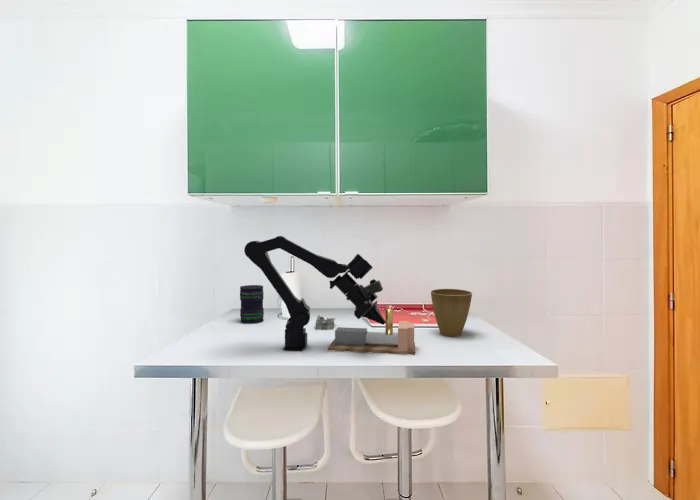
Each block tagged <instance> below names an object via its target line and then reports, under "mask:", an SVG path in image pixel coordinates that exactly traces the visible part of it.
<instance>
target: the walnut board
mask: <svg viewBox="0 0 700 500" xmlns="http://www.w3.org/2000/svg"><path fill="white" fill-rule="evenodd" d="M415 348H416V342H415V341H414V350H408V351H398V344H376V343H367V344H366V346H365V347H364V346H342V345H335V338H334V339H333V340H332V341H331V343H330V344H329V345H328V346H327V351H328V350H335V351H334V352H344V351H350V352H349V353H365V352H372V353H371V354H386V353H388V354H390V355H392V354H393V355H407V354H413V355H412V356H415V354H416V352H415V351H416V349H415Z"/></svg>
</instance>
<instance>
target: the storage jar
mask: <svg viewBox="0 0 700 500" xmlns="http://www.w3.org/2000/svg"><path fill="white" fill-rule="evenodd" d="M239 289H240V290H239V300H240V310H239V312H240V313H239V317H240V323H241V324H245V325H255V324H260V323H264V318H265V317H264V316H265V312H264V310H265V309H264V285H261V284H259V285H258V284H251V285H250V284H249V285H248V284H247V285H242V286H241V285H240V286H239Z"/></svg>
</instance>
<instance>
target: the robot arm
mask: <svg viewBox="0 0 700 500" xmlns="http://www.w3.org/2000/svg"><path fill="white" fill-rule="evenodd" d="M278 249H280V250H282V251H284V252H286V253H288V254H290V255H291V256H293V257H295V258H297V259H298V260H299V259H300V260H301V261H303V262H305V263H307V264H309V265H310V266H312V267H313V269H316V270H317V271H318V272H319V273H320V274H322V275H323V276H324V277H326V278H328V279H333V278H335V279H333V280H329V289H330V290H332V289H333V288H335V287H336V288H337V289H338V290H339V291H340V292H341V293H342V294H343V295H344V296H345V297H346V300H347V301H348V302H349V301H350V302H351V303H352V305H354V306H355V307H354V308H355V310H354V311H353V312H354V317H355V318H356V319H358V320H360V319H361V318H366V319H367V320H371V321H373V322H376V323H378V324H380V325H382V326H383V325H385V319H384V317H383V315H382V313H381V312H380V310H379V309H378V300H376V299H377V298H378V297H379V296H378V295H377V294H376V293H380V292H382V291H383V289H384V287H383V286H382V283H381V281H380V280H376V279H375V278H374V279H371V280H369V284H368V285H366V286H363V284H359V283H358V282H357V280H359V279H360V280H362V279H363V278H364V277H366V275H367V274H368V273H369V272H370V271H371V270H372V269H374V267H373V266H372V265H371V264H370V263H369V262H368V261H367V259H364V258H363V256H361V254H359V253H357V254H356V255H355V256H354V257H353V258H352V260H351V261H349V262H348V264H345V263H338V262H337V261H336V260H334V259H332V258H330V257H329V258H328V257H326V256H322V255H319V254H316V253H314V252H312V251H310V250H308V249H306V248H305V247H303V246H301V245H299V244H297V243H295V242H293V241H292V240H290V239H288V238H286V237H285V236H284V235H278V236H276V237H274V238H270V239H267V240H263V241H260V240H251V241H249V242H248V243H246V244H245V246H244V254H245V256H246V257H247V258H248V259H249V260H250V261H251V262H252V263H253V264H254V265H255V266H257V267H258V268H259V269H260V270H261V271H262V273H263V274H264V276H265V277H266V279H267V280H268V282H269V283H270V285H271V286H272V288H274V290H275V291H276V293H277V295H278V296H279V297H280V299H281V300H282V301H283V303H284V304H285V306H286V309H287V312H288V314H289V317H290V318H288V319H287V321H286V324H285V329H284V347H283V348H282V350H284V351H288V350H289V351H304V349H306V347H307V346H308V332H307V329H306V327H305V326H307V325H308V324H309V323H310V320H311V311H310V310H311V307H310V306H309V305H308V304H307V303H306V301H305V299H304V297H302V298H301V299H299V298H298V297H296V295H295V294H294V292H293V291H292V290H291V288H290V287H289V285H288V284H287V282H286V281H285V280H284V278H283V277H282V276H281V274H280V272H279V271H278V270H277V269H276V267H275V265H274V264H273V263H272V261H271V258H270V255H269V253H268V252H271V251H274V250H278ZM340 274H343V275H340ZM350 274H351V275H350ZM352 276H353V277H352ZM353 278H354V279H353Z"/></svg>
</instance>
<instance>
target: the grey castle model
mask: <svg viewBox="0 0 700 500" xmlns="http://www.w3.org/2000/svg"><path fill="white" fill-rule="evenodd" d="M335 320H336V317H330V318H329V317H327V318H326V319H325V317H324V316H320V314H318V315H317V317H316V319H315V323H314V324H315V329H316V330H319V331H321V330H326V331H328V330H329V331H330V330H333V329H334V326H335Z"/></svg>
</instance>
